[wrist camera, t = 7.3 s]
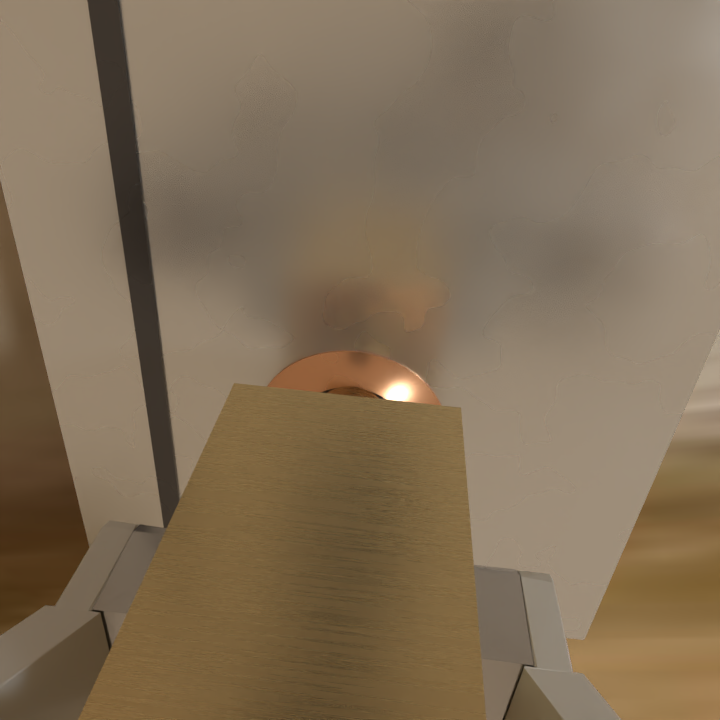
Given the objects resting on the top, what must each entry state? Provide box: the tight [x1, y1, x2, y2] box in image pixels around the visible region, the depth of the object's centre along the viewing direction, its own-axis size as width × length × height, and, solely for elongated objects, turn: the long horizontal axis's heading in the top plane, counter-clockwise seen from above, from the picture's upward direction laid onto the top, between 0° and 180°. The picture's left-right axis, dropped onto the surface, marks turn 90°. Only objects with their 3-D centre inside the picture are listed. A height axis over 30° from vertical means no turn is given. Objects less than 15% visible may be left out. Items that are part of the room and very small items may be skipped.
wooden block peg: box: [78, 383, 486, 720], centre depth 10 cm, size 4×4×8 cm
